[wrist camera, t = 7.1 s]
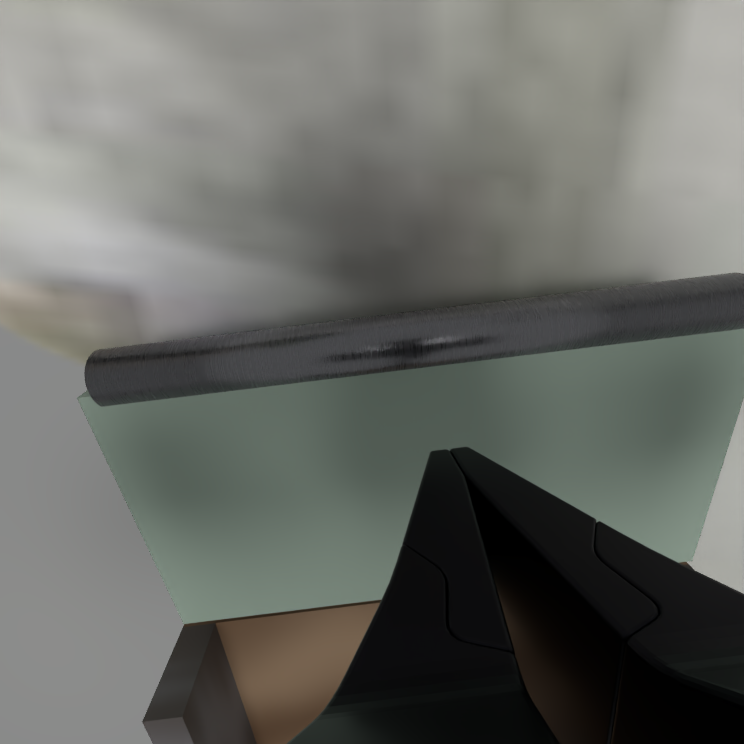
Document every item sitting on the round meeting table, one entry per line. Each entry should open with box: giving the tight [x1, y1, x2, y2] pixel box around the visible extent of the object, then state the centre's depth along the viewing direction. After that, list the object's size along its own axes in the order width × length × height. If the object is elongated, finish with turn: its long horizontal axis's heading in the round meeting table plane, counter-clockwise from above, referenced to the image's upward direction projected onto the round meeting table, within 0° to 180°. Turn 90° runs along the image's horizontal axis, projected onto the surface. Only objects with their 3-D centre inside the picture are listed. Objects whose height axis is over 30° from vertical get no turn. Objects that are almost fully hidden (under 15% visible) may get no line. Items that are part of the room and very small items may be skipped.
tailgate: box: [77, 273, 744, 624], centre depth 12 cm, size 2×18×10 cm
